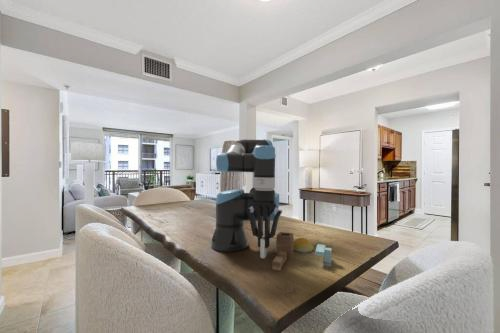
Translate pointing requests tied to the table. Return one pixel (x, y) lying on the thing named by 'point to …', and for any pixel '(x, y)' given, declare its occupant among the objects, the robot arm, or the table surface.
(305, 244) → the bread roll
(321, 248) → the keeper
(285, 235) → the wooden step block
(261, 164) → the robot arm
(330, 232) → the table surface
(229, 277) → the table surface
